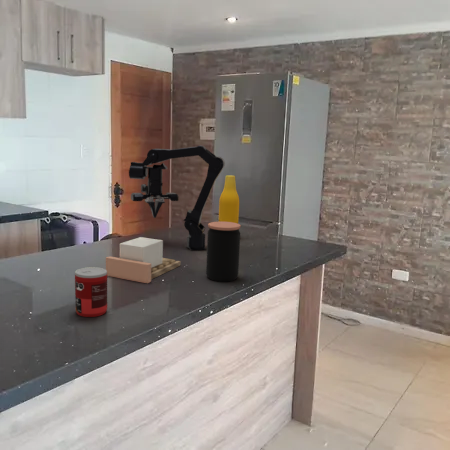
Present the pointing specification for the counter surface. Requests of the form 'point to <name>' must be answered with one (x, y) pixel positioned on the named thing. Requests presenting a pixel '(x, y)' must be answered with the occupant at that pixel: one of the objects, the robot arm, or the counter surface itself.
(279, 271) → the counter surface
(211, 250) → the coffee jar
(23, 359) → the counter surface
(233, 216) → the beer bottle
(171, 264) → the roller bed
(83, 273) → the canned food
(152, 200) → the robot arm
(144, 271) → the brick stop
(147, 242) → the white box on pallet
